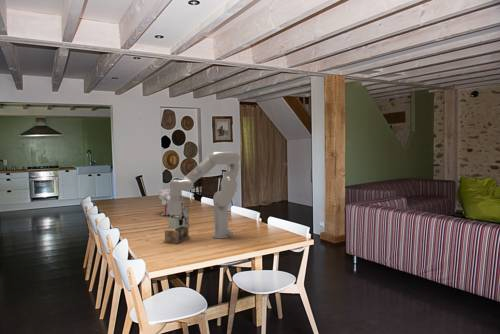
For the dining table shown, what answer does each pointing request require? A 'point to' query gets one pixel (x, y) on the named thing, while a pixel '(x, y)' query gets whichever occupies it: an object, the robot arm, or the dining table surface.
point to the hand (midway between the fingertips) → (176, 224)
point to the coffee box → (186, 218)
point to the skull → (164, 199)
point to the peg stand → (177, 235)
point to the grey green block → (174, 222)
